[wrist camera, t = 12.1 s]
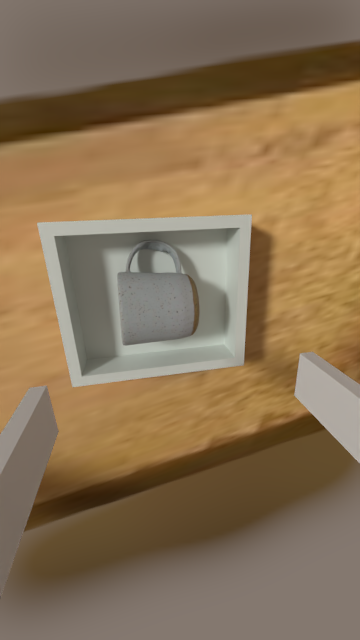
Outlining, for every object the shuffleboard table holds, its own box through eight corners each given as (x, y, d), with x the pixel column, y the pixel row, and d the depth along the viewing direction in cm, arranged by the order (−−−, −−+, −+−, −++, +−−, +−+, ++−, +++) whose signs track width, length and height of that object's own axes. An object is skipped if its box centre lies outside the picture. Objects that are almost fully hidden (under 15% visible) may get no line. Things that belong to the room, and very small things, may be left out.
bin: (80, 365, 34) (72, 387, 29) (52, 223, 28) (37, 222, 23) (229, 347, 37) (243, 365, 32) (233, 216, 31) (251, 214, 26)
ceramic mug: (187, 324, 34) (202, 350, 26) (122, 330, 32) (120, 358, 25) (186, 238, 30) (203, 240, 23) (113, 240, 29) (107, 243, 22)
